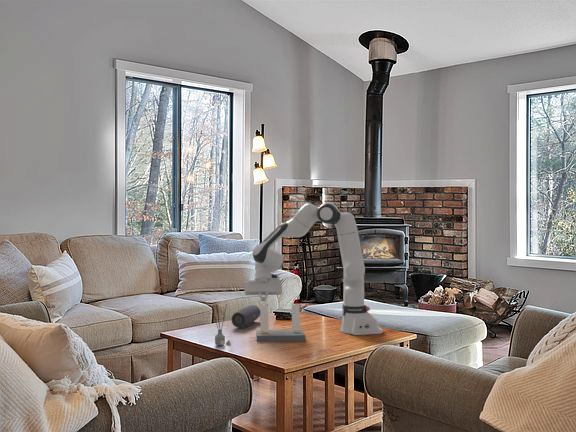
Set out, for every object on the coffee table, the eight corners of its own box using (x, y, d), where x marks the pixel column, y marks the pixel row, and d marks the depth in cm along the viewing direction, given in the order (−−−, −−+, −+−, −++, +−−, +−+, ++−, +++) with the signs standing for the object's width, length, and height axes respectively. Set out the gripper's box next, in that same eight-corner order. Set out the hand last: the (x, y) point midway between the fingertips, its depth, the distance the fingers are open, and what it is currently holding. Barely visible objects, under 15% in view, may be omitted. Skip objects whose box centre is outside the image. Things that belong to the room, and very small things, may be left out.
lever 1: (268, 331, 308) (268, 304, 312) (268, 331, 306) (268, 303, 310) (260, 331, 307) (260, 304, 312) (260, 331, 306) (260, 303, 310)
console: (302, 335, 314) (302, 329, 314) (305, 341, 302) (305, 335, 302) (256, 336, 312) (256, 330, 312) (257, 341, 300) (257, 335, 300)
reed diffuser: (214, 348, 288) (214, 306, 287) (207, 345, 294) (207, 304, 293) (232, 344, 294) (232, 303, 294) (225, 342, 300) (225, 301, 299)
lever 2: (299, 331, 309) (299, 304, 313) (300, 330, 307) (299, 303, 312) (292, 331, 309) (291, 304, 313) (292, 330, 307) (291, 303, 311)
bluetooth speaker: (246, 330, 325) (246, 312, 324) (230, 329, 328) (230, 310, 327) (261, 322, 346) (261, 304, 346) (246, 320, 349) (246, 303, 349)
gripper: (243, 275, 326) (243, 297, 317) (282, 275, 327) (282, 297, 318) (243, 282, 331) (243, 303, 321) (281, 282, 332) (282, 303, 323)
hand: (263, 300), depth 320 cm, fingers closed
